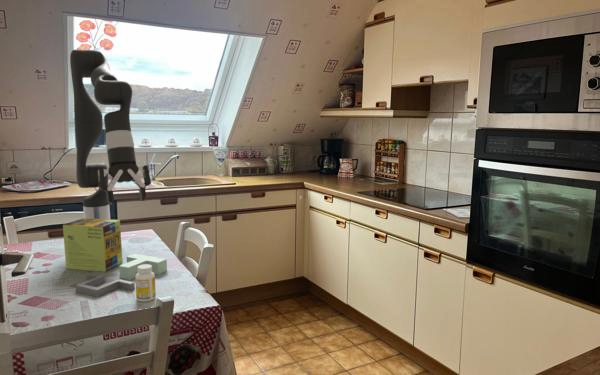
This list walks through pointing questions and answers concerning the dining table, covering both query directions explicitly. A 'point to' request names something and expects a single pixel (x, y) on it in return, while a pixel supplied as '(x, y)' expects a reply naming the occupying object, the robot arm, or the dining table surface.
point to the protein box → (92, 244)
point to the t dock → (97, 279)
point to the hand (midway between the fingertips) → (127, 202)
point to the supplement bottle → (145, 283)
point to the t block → (135, 260)
